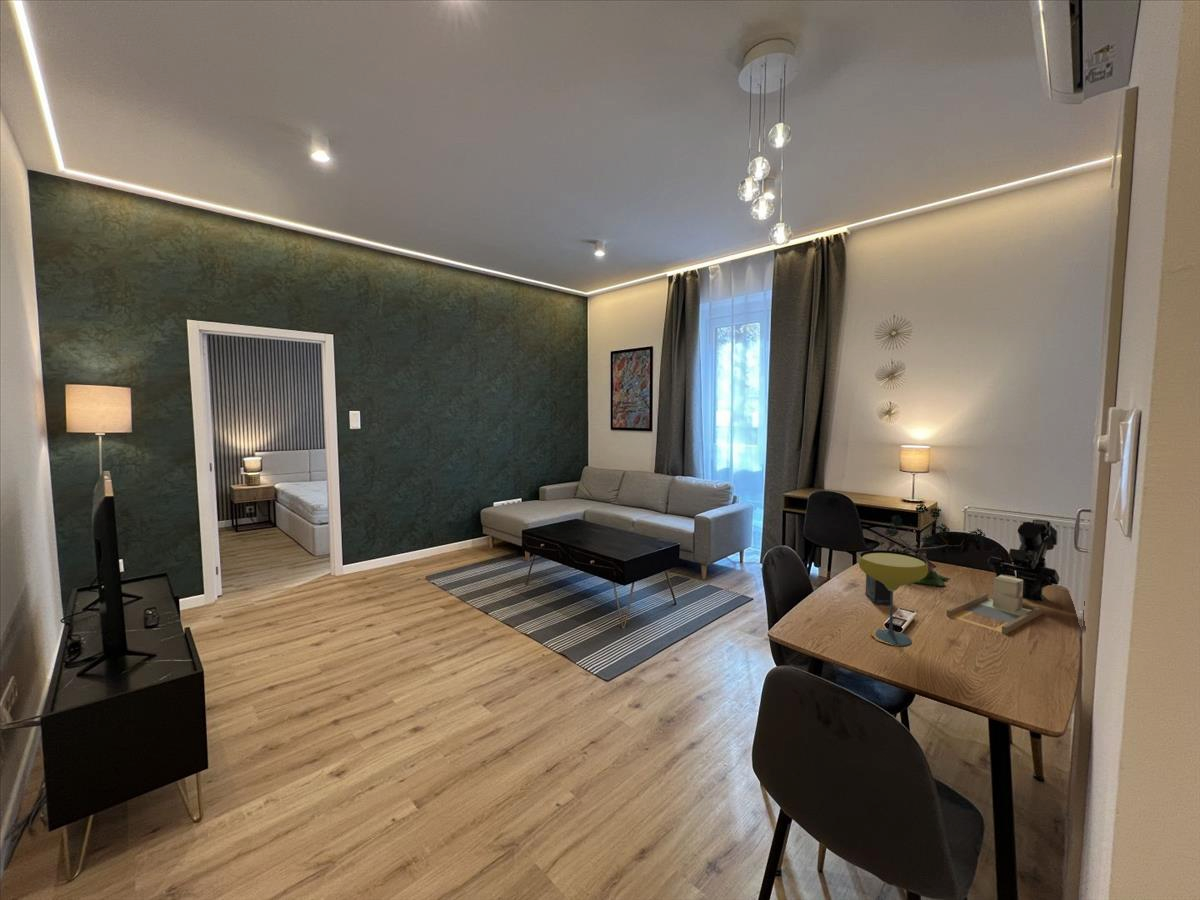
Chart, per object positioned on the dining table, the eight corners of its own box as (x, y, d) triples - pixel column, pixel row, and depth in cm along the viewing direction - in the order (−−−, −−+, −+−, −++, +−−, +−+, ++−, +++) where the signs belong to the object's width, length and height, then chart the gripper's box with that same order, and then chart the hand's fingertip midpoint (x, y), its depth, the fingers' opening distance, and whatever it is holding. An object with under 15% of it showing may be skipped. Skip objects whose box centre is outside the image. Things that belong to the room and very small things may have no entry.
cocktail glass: (844, 632, 155) (845, 554, 153) (883, 621, 162) (885, 547, 160) (899, 657, 138) (900, 571, 136) (940, 644, 145) (942, 561, 144)
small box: (894, 606, 174) (894, 577, 173) (874, 605, 175) (874, 576, 175) (883, 595, 184) (883, 567, 184) (864, 594, 186) (865, 567, 185)
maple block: (1000, 602, 170) (1001, 574, 169) (1022, 608, 165) (1023, 579, 164) (992, 606, 167) (993, 578, 166) (1014, 612, 162) (1015, 583, 161)
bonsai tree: (872, 581, 199) (873, 504, 196) (887, 566, 216) (888, 496, 214) (980, 603, 175) (983, 515, 172) (988, 584, 192) (990, 504, 190)
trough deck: (984, 602, 175) (984, 592, 175) (1041, 617, 161) (1042, 607, 161) (946, 620, 161) (946, 609, 161) (1005, 638, 148) (1006, 627, 147)
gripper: (990, 534, 178) (974, 570, 173) (1057, 546, 162) (1042, 585, 157) (999, 551, 182) (984, 587, 178) (1065, 564, 166) (1051, 603, 162)
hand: (1013, 590), depth 169 cm, fingers open, 9 cm apart
